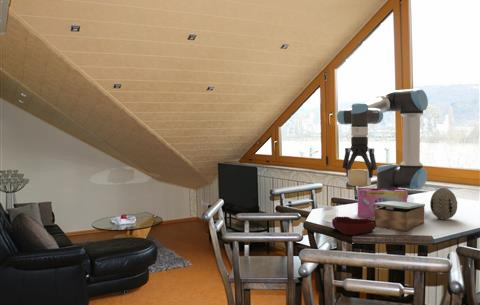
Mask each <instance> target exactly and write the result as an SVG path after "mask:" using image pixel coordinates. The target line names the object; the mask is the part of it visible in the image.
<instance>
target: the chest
mask: <svg viewBox="0 0 480 305" xmlns="http://www.w3.org/2000/svg"><path fill="white" fill-rule="evenodd" d="M374 220H375V221H376V227H375V228H378V227H379V229H384V228H385V229H386V230H393V231H397V232H398V231H399V232H406V233H408V232H409V231H411V230H413V229H415V228H418V227H419V226H422V225H423V224H425V206H421V207H415V208H409V209H404V208H396V207H393V210H391V209H386V206H382V207H379V208H376V209H375V217H374Z"/></svg>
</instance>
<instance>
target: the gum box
mask: <svg viewBox="0 0 480 305" xmlns="http://www.w3.org/2000/svg"><path fill="white" fill-rule="evenodd" d="M408 197H409V194H408V191H407V189H406V188H398V189H379V188H377V187H375V188H374V187H373V188H371V187H357V217H358V218H375V209H376V208H379V207H382V206H378V205H374V203H379V202H387V201H401V202H408Z"/></svg>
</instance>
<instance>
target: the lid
mask: <svg viewBox="0 0 480 305" xmlns="http://www.w3.org/2000/svg"><path fill="white" fill-rule="evenodd" d="M374 205H378V206H386V209H391V210H393V207H396V208H404V209H409V208H415V207H421V206H424V207H425V206H426V204H425V203H418V202H410V201H409V202H408V201H407V202H401V201H387V202H379V203H374Z"/></svg>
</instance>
